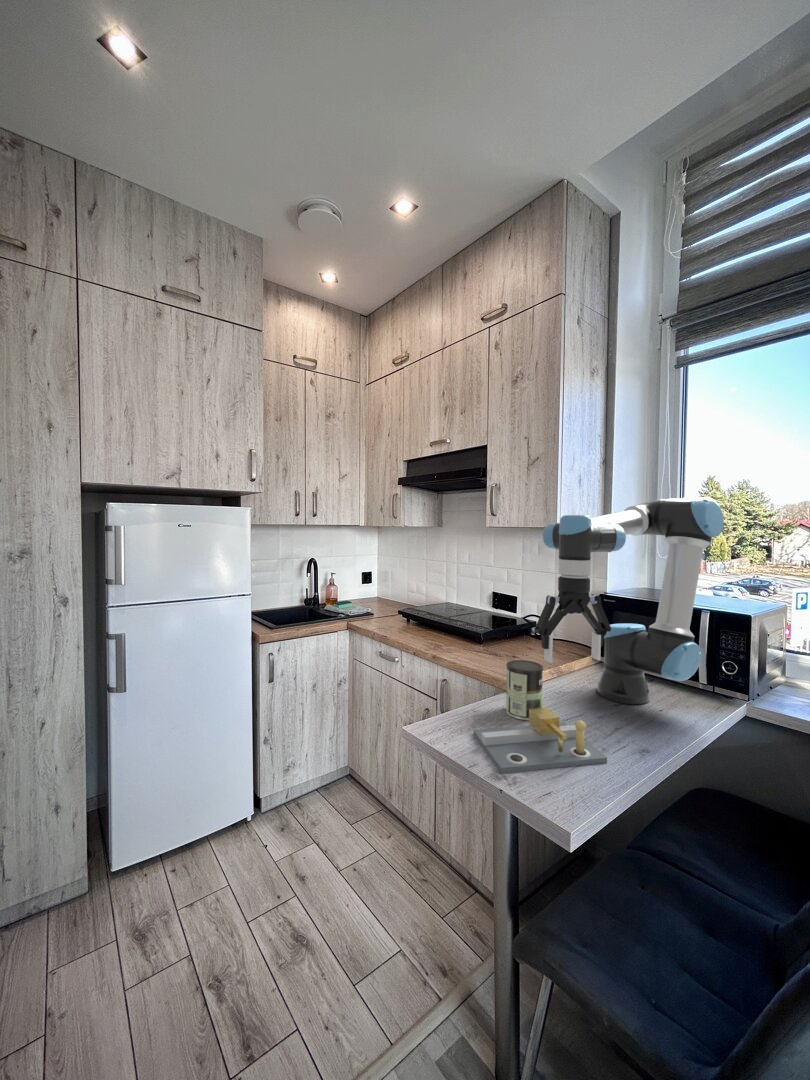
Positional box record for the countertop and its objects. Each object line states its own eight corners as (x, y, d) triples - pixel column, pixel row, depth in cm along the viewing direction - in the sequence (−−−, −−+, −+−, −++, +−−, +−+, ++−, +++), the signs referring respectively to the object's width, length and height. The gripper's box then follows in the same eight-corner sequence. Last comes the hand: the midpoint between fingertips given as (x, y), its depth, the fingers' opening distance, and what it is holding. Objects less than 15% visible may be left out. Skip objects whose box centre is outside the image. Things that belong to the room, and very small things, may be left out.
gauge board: (564, 726, 117) (565, 694, 117) (607, 762, 99) (608, 725, 99) (473, 734, 112) (473, 701, 112) (501, 773, 95) (501, 734, 94)
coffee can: (540, 707, 130) (541, 660, 129) (544, 722, 120) (545, 672, 119) (505, 704, 132) (505, 658, 131) (506, 718, 122) (506, 669, 121)
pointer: (546, 728, 112) (547, 707, 112) (574, 753, 99) (574, 730, 99) (528, 729, 111) (529, 708, 111) (554, 755, 98) (554, 731, 98)
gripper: (608, 573, 115) (606, 653, 115) (521, 575, 110) (520, 657, 111) (627, 577, 107) (625, 662, 108) (535, 578, 103) (534, 667, 104)
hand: (572, 660), depth 109 cm, fingers open, 12 cm apart
